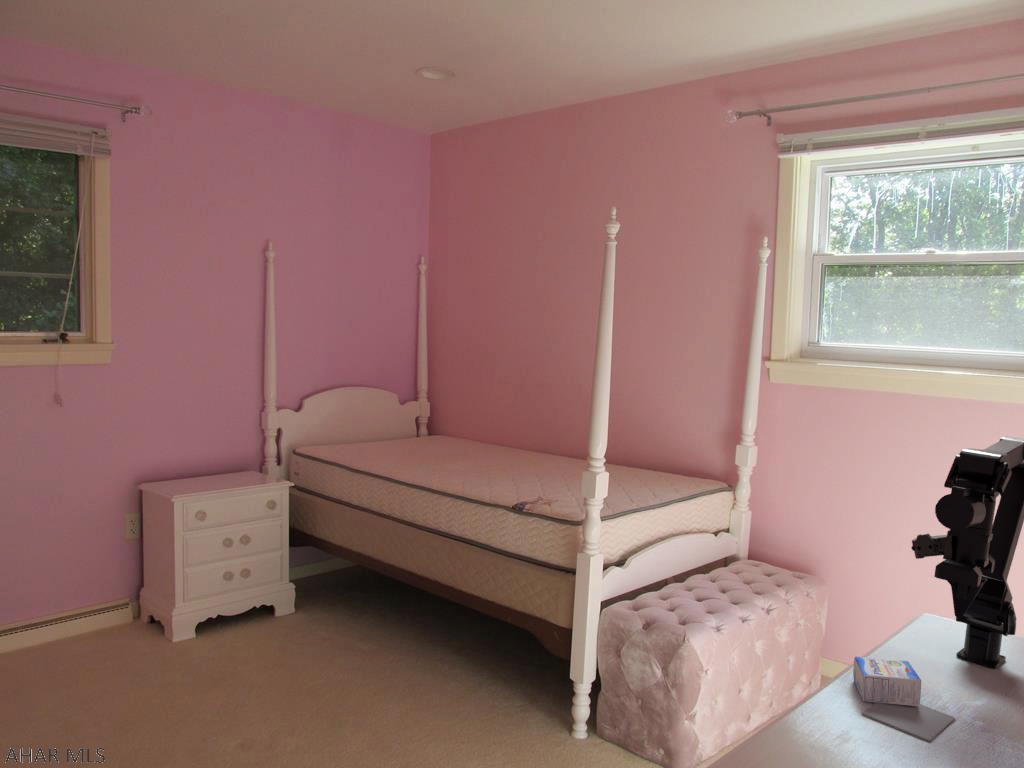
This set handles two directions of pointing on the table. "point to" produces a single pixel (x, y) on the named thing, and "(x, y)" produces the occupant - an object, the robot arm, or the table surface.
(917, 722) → the mat
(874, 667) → the medicine box
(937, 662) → the table surface
